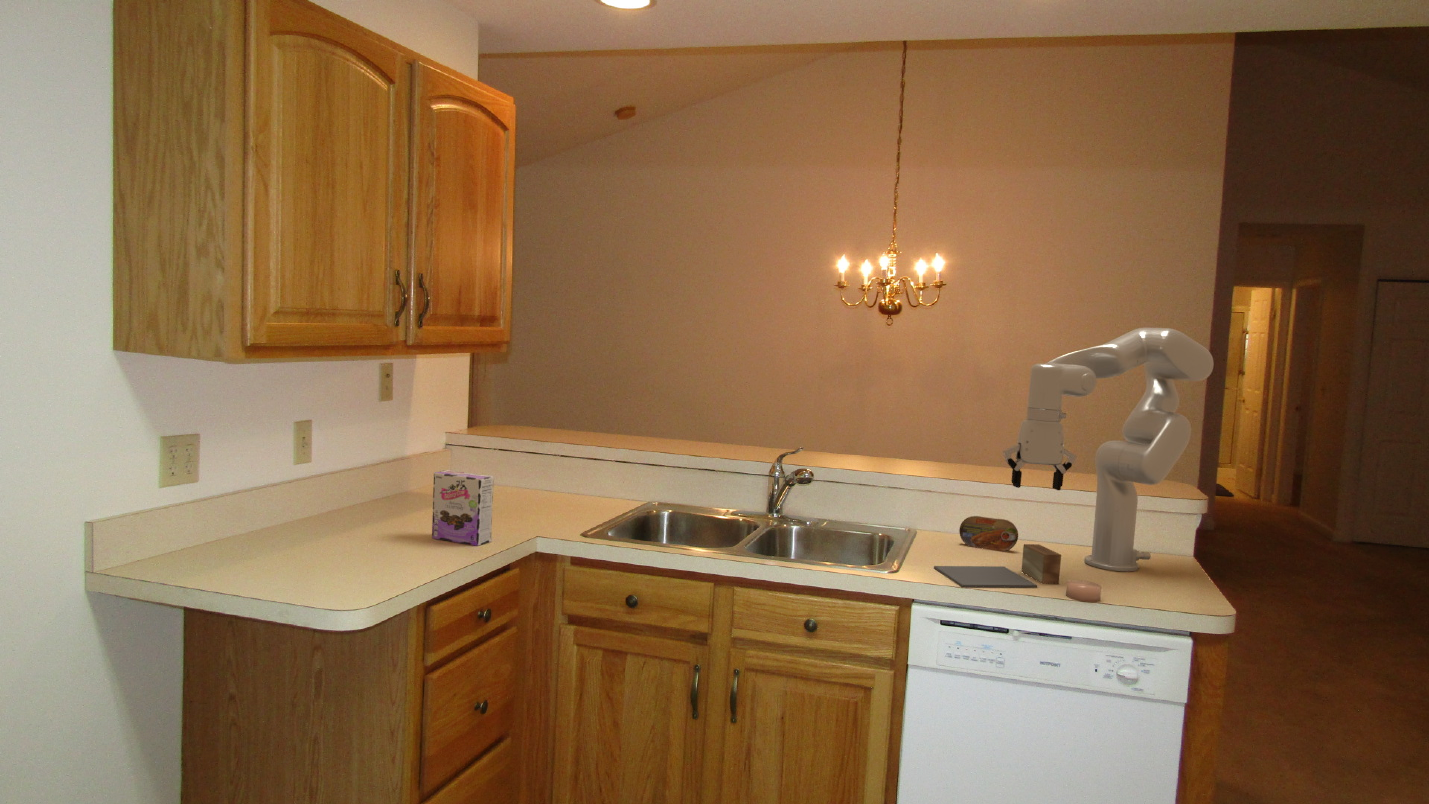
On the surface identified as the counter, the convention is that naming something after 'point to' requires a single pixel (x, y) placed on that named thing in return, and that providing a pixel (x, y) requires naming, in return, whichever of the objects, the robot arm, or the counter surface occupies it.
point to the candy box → (462, 507)
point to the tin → (988, 533)
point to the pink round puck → (1083, 591)
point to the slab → (1041, 563)
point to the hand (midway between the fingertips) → (1036, 488)
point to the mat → (984, 577)
